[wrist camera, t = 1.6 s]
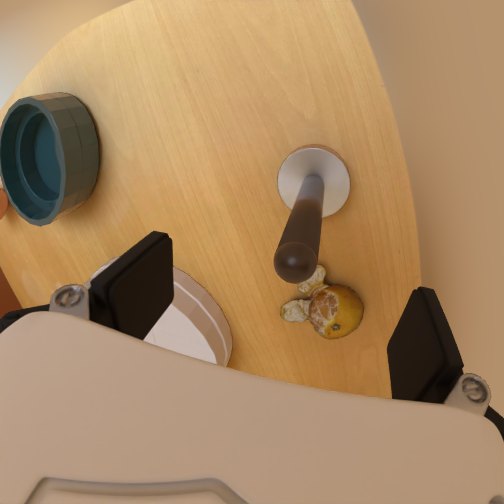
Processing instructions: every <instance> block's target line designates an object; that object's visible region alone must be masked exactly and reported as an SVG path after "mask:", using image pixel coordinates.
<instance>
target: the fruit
mask: <svg viewBox="0 0 504 504" xmlns="http://www.w3.org/2000/svg"><path fill="white" fill-rule="evenodd" d="M325 275H326V270H325V268H324V266H322V265H317V268H316V270H315V273H314V274H313V275H312V277H311V278H310V279H308V280H307V281H305V282H302V283H298V290H300V291H302V292H303V293H305V294H306V295H307V296H309V298H310V299H309V300H307V301H304V300H303V299H302V300H294V301H292V300H291V301H290V302H288V303H286V304H285V305H284V306H282V307H281V312H280V316H281V317H282V318H283V319H284V320H285V321H288V322H299V321H302V322H303V321H305V320H310V322H311V323H312V324H313V326H314V328H315V330H316V331H317V332H318V333H319V335H321V336H322V337H324V338H326V339H338V338H342V337H345V336H347V335H348V334H350V333H351V332H353V331H354V330H355V329H357V328H358V326H359V324H360V322H361V320H362V318H363V312H364V304H363V302H362V301H361V300H360V298H358V297H357V296H356V295H355V292H354V291H353V290H351V289H350V288H349V287H348V288H346V287H343V286H339V285H338V284H335V285H333V286H328V285H325V284H323V279H324V276H325Z"/></svg>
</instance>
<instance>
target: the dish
mask: <svg viewBox="0 0 504 504" xmlns="http://www.w3.org/2000/svg"><path fill="white" fill-rule="evenodd" d="M119 257H120V256H119ZM119 257H116V258H112V259H111V260H110V261H109V262H108V263H106V264H105V265H104V266H102V267H101V268H100V269H99V270H97V271H96V272H95V273H94V274H93V275H92V277H91V279H89V280H88V281H87V282H86V283H85V284H84V285H82V286H84V287H86V289H87V290H88V289H89V288H90V287H91V284H90V281H91V280H93V279H94V278H95V277H96V276H97V275H99V274H100V273H101V272H102V271H103V270H105V269H106V268H107V267H108V266H109V265H111V264H112V263H113V262H114V261H116V260H117V259H118V258H119ZM173 278H174V299H173V302H172V303H171V305H170V306H169V307H168V308H167V310H166V311H165V312H164V314H163V315H162V316H161V318H160V319H159V320H158V321H157V323H156V324H155V325H154V327H153V328H152V329H151V331H150V332H149V333H148V335H147V336H146V337H145V339H144V340H143V341H146V342H149V343H151V344H154V345H157V346H160V347H163V348H166V349H169V350H172V351H175V352H178V353H181V354H184V355H187V356H191V357H194V358H197V359H201V360H204V361H207V362H211V363H214V364H218V365H221V366H225V367H226V366H227V364H228V362H229V359H230V356H231V351H232V346H233V342H232V336H231V331H230V326H229V324H228V322H227V320H226V318H225V316H224V314H223V312H222V310H221V308H220V307H219V306H218V305H217V303H216V302H215V301H214V300H213V298H212V297H211V296H210V294H209V293H208V292H207V291H206V290H205V289H204V288H203V287H202V286H201V285H199V284H198V283H197V282H196V281H195V280H193V279H192V278H191V277H190V276H189V275H188V274H186V273H184V272H183V271H181V270H179V269H177V268H176V267H174V266H173Z"/></svg>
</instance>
